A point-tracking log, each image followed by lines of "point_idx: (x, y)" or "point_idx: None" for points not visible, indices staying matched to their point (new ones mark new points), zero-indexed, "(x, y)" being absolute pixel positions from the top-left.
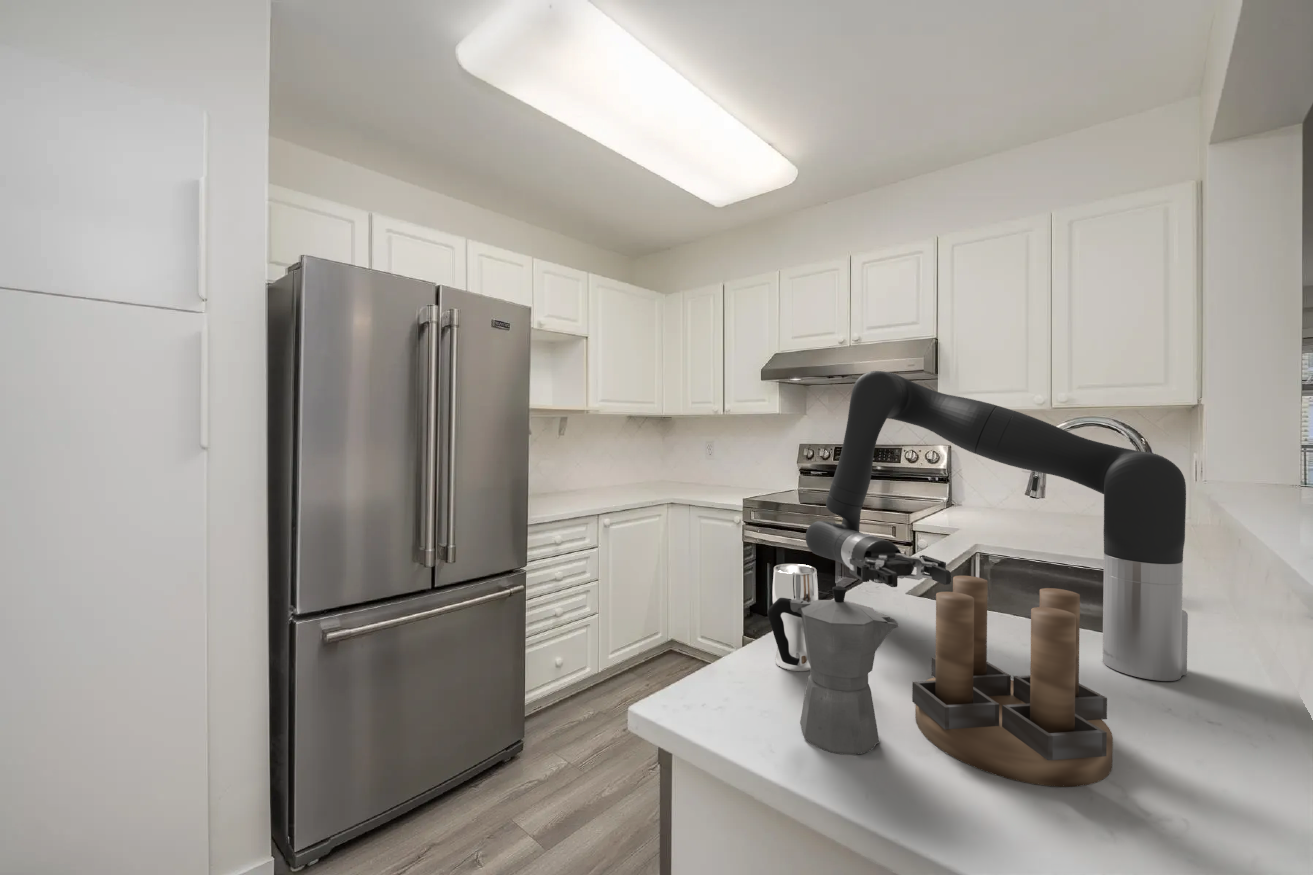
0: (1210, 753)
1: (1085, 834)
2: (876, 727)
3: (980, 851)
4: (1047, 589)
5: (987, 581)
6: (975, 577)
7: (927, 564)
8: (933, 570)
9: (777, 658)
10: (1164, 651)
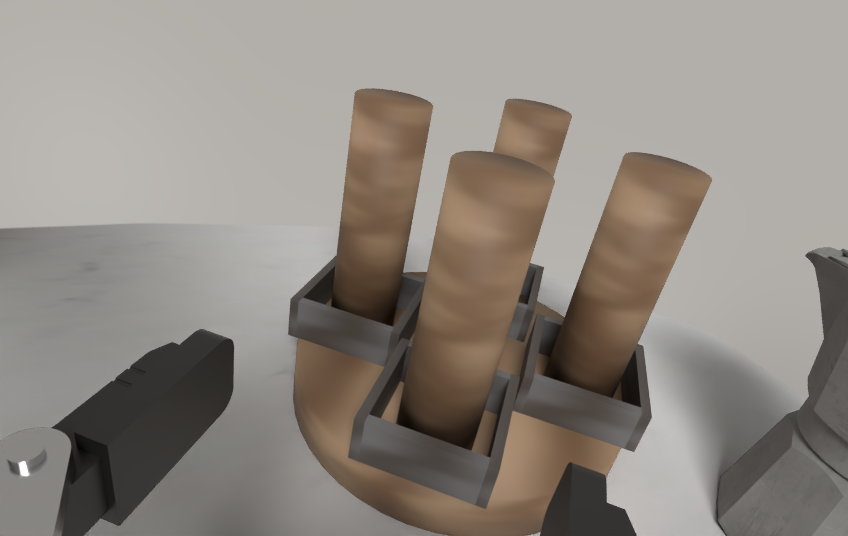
0: (230, 263)
1: (551, 296)
2: (738, 460)
3: (677, 329)
4: (391, 105)
5: (468, 151)
6: (462, 165)
7: (61, 496)
8: (127, 454)
9: None
10: None
